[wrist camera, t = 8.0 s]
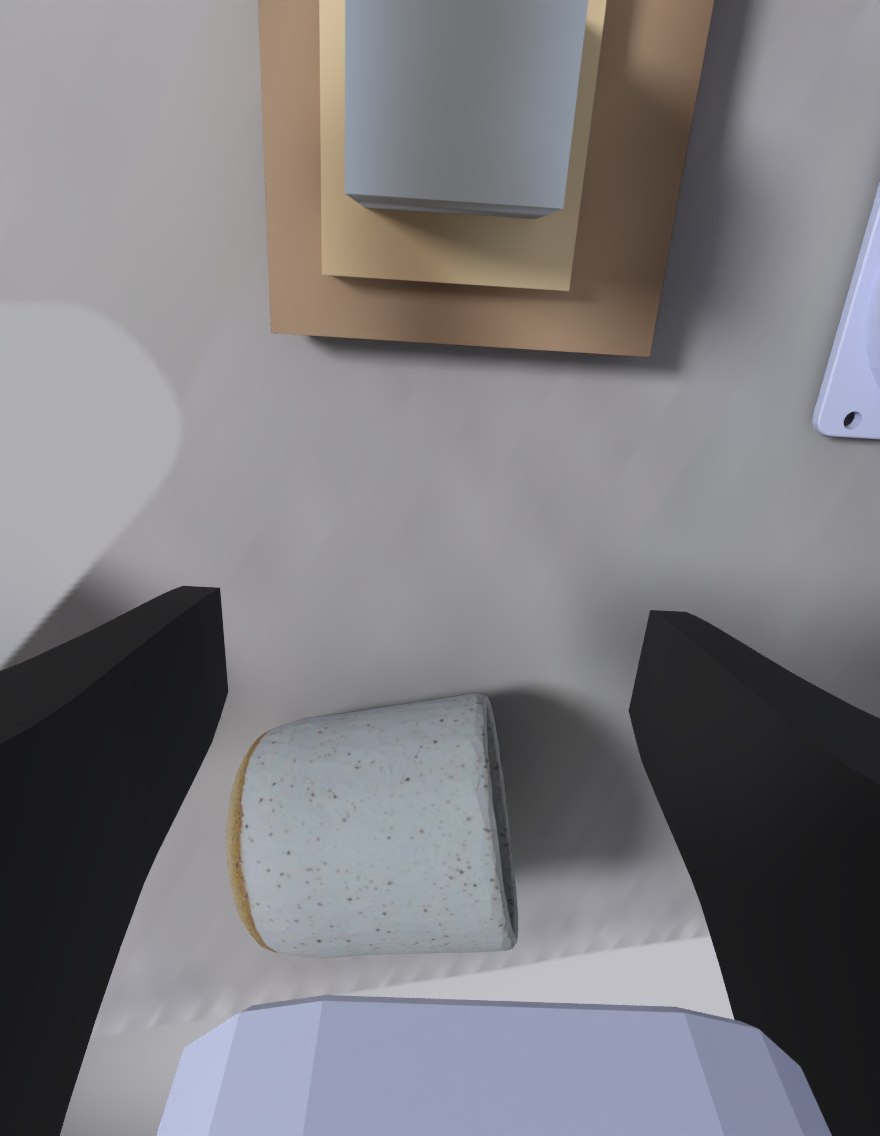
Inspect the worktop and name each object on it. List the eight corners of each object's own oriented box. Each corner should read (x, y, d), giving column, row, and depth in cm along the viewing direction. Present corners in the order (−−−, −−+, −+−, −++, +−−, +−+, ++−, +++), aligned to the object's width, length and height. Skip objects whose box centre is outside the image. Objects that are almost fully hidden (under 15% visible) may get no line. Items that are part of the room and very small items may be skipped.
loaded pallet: (607, -64, 15) (678, -198, 10) (562, 289, 17) (603, 299, 13) (325, -88, 14) (278, -233, 10) (327, 273, 17) (291, 279, 13)
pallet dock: (734, -236, 15) (766, -287, 13) (634, 349, 20) (649, 356, 18) (263, -278, 14) (245, -335, 13) (282, 327, 19) (271, 332, 18)
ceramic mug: (253, 684, 24) (180, 862, 17) (481, 646, 24) (501, 815, 17) (329, 890, 29) (296, 1097, 22) (523, 862, 28) (552, 1066, 21)
